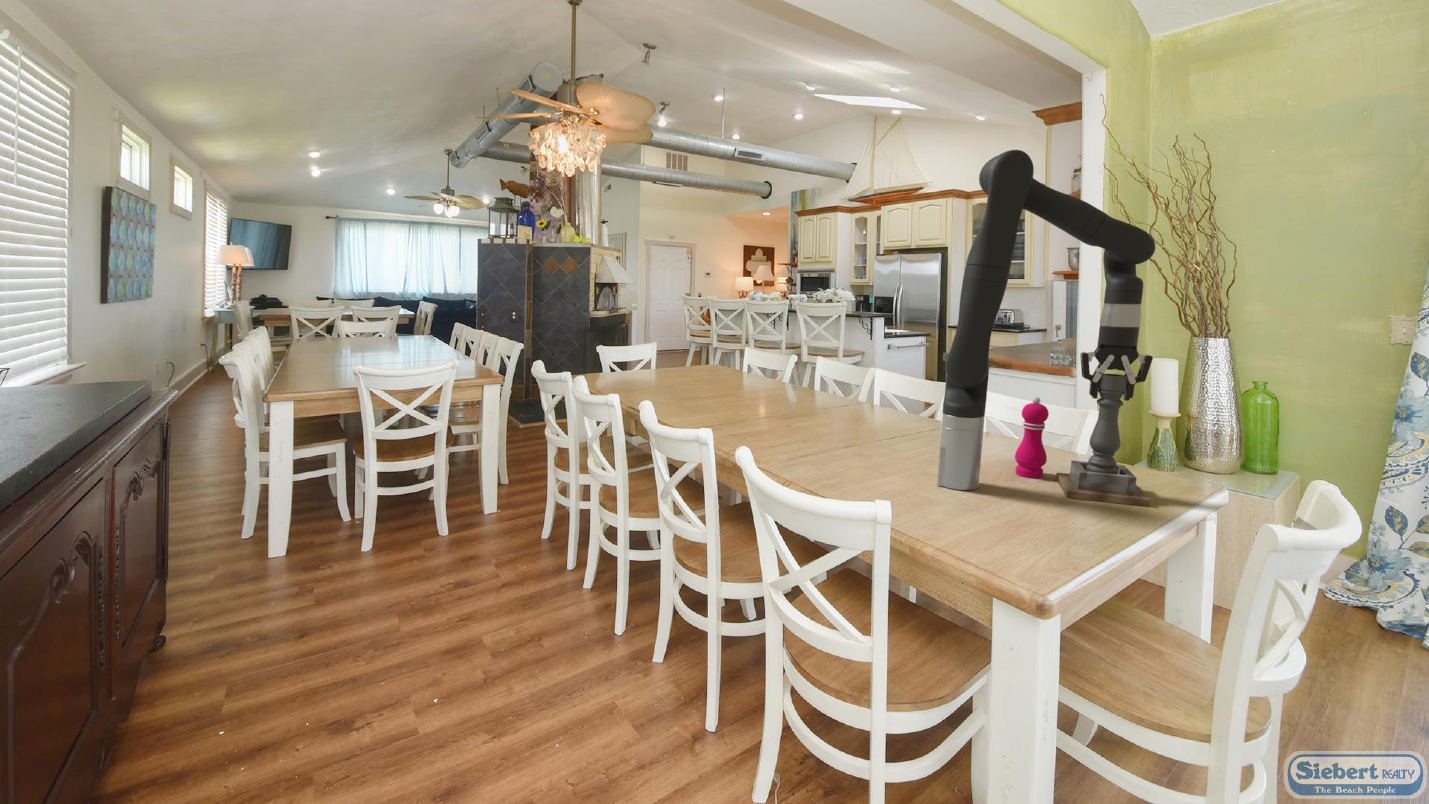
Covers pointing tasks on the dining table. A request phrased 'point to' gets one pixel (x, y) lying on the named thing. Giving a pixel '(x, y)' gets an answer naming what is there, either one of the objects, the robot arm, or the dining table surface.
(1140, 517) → the dining table surface
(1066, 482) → the socket board
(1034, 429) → the pepper mill
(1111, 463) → the candle holder
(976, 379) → the robot arm
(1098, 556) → the dining table surface
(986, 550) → the dining table surface
